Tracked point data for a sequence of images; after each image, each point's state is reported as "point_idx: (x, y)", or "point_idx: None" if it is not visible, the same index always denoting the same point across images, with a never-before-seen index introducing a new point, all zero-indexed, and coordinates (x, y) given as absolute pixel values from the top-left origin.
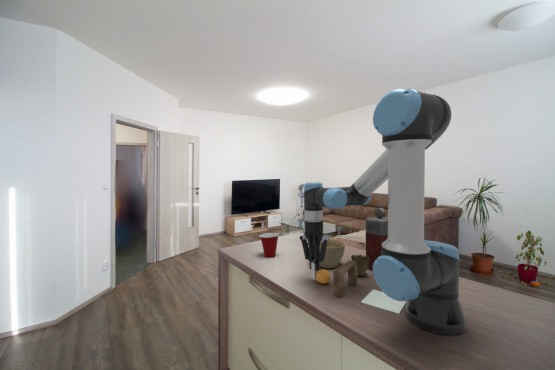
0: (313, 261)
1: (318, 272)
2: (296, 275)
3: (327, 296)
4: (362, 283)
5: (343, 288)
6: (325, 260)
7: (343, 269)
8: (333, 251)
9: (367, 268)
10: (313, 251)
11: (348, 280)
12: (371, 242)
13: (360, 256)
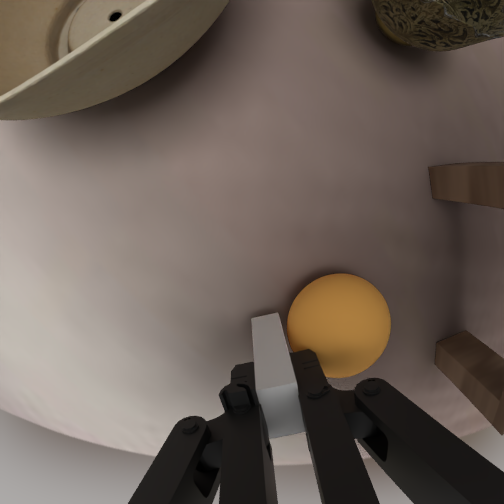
0: (262, 409)
1: (329, 375)
2: (119, 340)
3: (416, 385)
4: (468, 132)
5: (487, 349)
6: (151, 77)
7: None
8: None
9: (460, 14)
10: (269, 493)
11: (448, 198)
12: None
13: None
